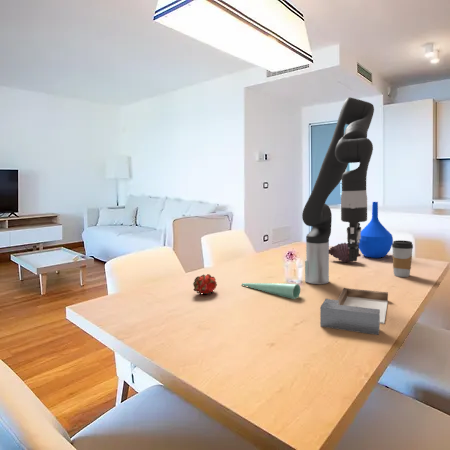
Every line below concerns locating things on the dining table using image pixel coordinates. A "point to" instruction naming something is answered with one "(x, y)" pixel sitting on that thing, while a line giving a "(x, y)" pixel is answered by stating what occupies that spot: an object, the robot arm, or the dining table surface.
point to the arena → (361, 295)
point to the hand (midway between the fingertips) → (354, 258)
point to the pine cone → (341, 252)
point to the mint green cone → (277, 288)
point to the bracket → (349, 317)
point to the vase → (375, 237)
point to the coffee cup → (402, 257)
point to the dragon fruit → (204, 284)
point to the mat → (368, 305)
